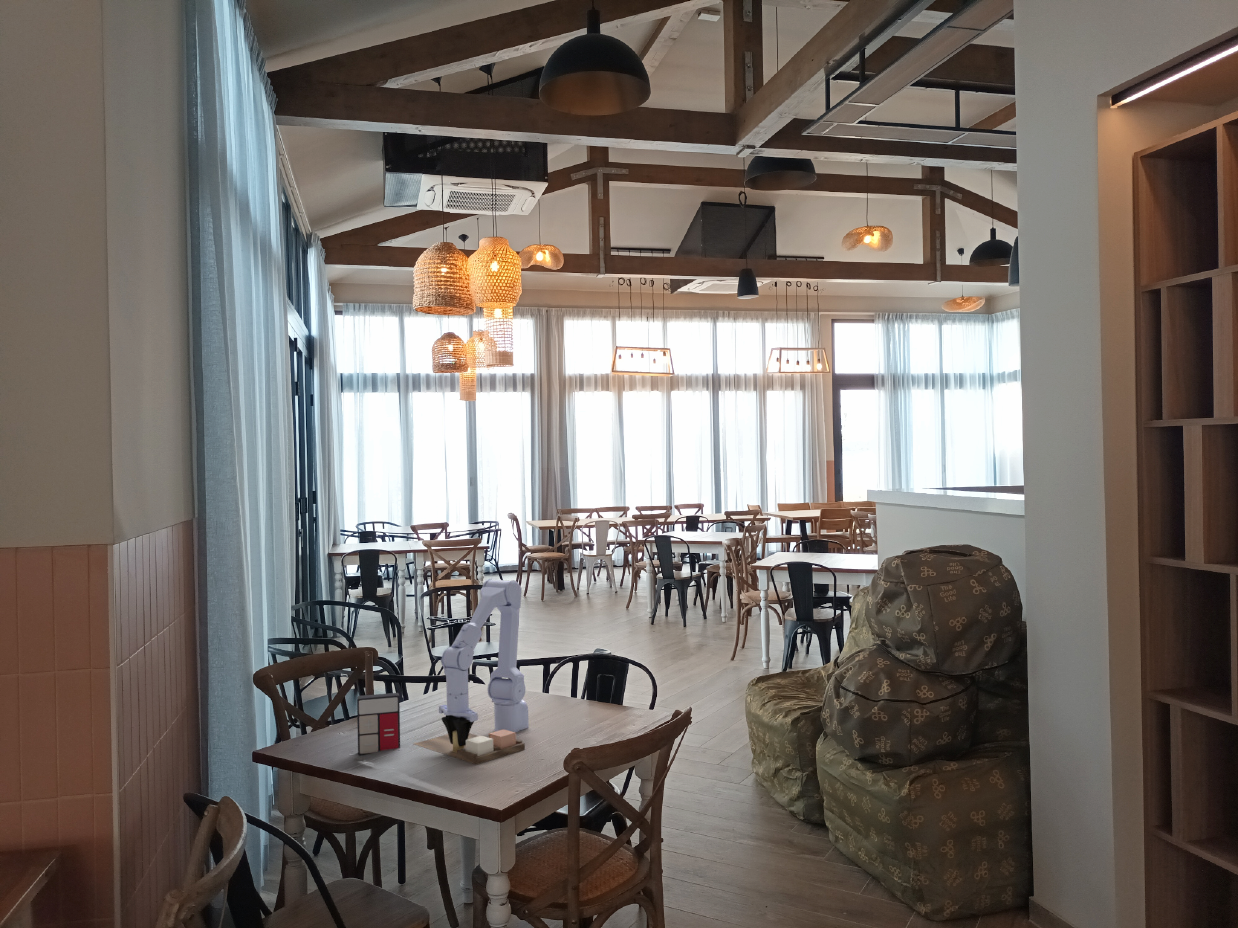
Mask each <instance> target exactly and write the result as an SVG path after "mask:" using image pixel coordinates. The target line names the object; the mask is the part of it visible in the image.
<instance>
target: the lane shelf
mask: <svg viewBox="0 0 1238 928" xmlns="http://www.w3.org/2000/svg"><path fill="white" fill-rule="evenodd" d="M478 736H479V735H476V734H473V733H470V732H469V736H468V739H471V738H474V737H478ZM413 745H415V746H418V747H420V748H424V749H428V750H429V751H430V750H431V751H433V752H437V753H440V754H443V755H447V756H449V757H451V758H456V759H459V760H462V761H465V762H468V763H471V764H474V765H480V764H482V763H486V762H488V761H492V760H495V759H499V758H501V757H504V756H508V755H511V754H514V753H517V752H520V751H524V750H526V749H525V743H524V742H523V740H520V739H517V738H516V745H513V746H510V747H507V748H503V749H500V747H497V746H493V752H490V753H487V754H484V755H480V756H477V754H474V753H470V752H467V751H464V750H461V749H460V750H457V752H454V751H453V744H451V743H450V739H449V735H448V733H447V734H444V735H441V736H437V737H433V738H430V739H427V740H422V741H418V742H415V743H413ZM464 749H466V745H464Z"/></svg>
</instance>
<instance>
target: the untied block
mask: <svg viewBox="0 0 1238 928" xmlns="http://www.w3.org/2000/svg"><path fill="white" fill-rule="evenodd" d="M516 734H517V732H512V731H508V730H504V729H503V730H499V731H496V732H495V731H493V732H490V733H488V738H491V739H493V746H497V747H500V749H503V748H507V747H510V746H513V745H516V739H517V737H516V736H517V735H516Z"/></svg>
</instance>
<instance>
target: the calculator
mask: <svg viewBox="0 0 1238 928" xmlns="http://www.w3.org/2000/svg"><path fill="white" fill-rule="evenodd" d="M356 698H357V699H356V710H357V711H356V712H357V719H356V721H357V722H356V723H357V724H356V725H357V754H358V755H359V756H362V755H363V756H365V755H371V754H374V753H377V752H381V751H386V750H394V749H395V750H396V749H400V748H401V717H400V716H401V715H400V714H401V713H400V712H401V711H400V707H401V706H400V694H399V692H391V693H390V692H389V693H388V692H387V693H379V694H365V695H357V697H356Z"/></svg>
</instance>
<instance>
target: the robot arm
mask: <svg viewBox="0 0 1238 928" xmlns="http://www.w3.org/2000/svg"><path fill="white" fill-rule="evenodd" d="M481 587H482V588H481V589H480V592H479V594H480V600H479V601H478V604H477V606H476V608H475V610H474V612H473V615H472V616H471V619H470V621H469V622H468V623H464V624H463V625H462V626H461V628H460V630H459V632H458V634H457V635H456V637H455V639H454V641H453V643H452V645H451V646H449V647H448V648H446V649H445V650H444V651H443V653H442V656H441V658H440V663H441V664H440V665H441V666H442V668H443V670H444V671H443V673H444V675H445V678H446V679H445V680H446V682H445V684H446V685H445V686H446V704H442V705H439V706H438V713H439V714H443V715H445V716H443V717H441V722H442V723H443V725H444V728H446V732H447V734H448V735H449V739H450V743H451V744H453V731H455V730H456V731H457V738H458V745H459V746H460V747H461V746H464V745H466V740H467V739H468V736H469V733H470V731H471V729H472V726H473V724H475V722H476V721H479V719H478V718H479V717H478V716H479V713H478V712H476V711H474V710H472V709H471V708H470V707H469V703H470V702H469V701H470V699H469V697H470V696H469V668H470V667H471V666H472V664H473V660H474V655H475V654H474V653H475V651H474V650H475V648H476V646H477V645H478V643H479V641H480V640H481V637H482V636H483V631H482V628H483V626H484V624H485V623H486V622H487V620H488V618H489V616H490V615H491V614H492V612H493V610H494V609H495V608H497V610H498V611H499V613H500V622H499V641H498V653H497V654H498V656H497V667H496V668H495V669H494V670H493V671H492V672H491V673H490V679H489V682H488V685H487V695H488V697H489V698H490V699H491V703H493V706H494V707H493V709H494V710H493V712H494V714H493V715H494V732H496V731H499V730H503V729H504V730H508V731H512V732H516V733H517V732H520V731H522V730H525V729H529V728H530V727H529V724H530V723H529V707H528V704H527V702H526V701H525V700H524V697H525V694H526V691H527V689H526V685H525V675H524V674H523V673H522V671H520V670H519V669H518V668H517V662H518V643H519V630H520V629H519V626H520V609H521V607H522V606H521V602H522V601H521V600H522V587H521V585H520V584H519V583H518V581H517V580H514V579H511V580H507V579H506V580H504V579H492V578H491V579H490V578H489V579H486V580H485V581H484V582H483V584H482V586H481Z"/></svg>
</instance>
